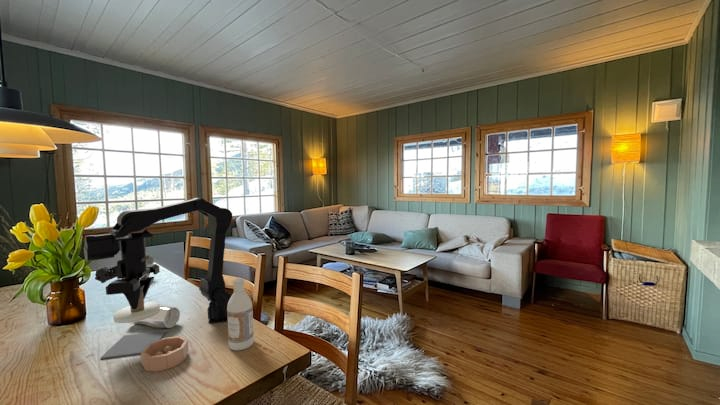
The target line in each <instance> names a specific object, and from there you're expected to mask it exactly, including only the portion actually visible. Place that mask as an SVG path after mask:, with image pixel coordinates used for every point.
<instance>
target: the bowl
mask: <svg viewBox="0 0 720 405" xmlns="http://www.w3.org/2000/svg"><path fill="white" fill-rule="evenodd" d="M188 353H189V339H187V338H186V337H183V336H181V335H178V336H169V337H162V338H161V339H160V340H158V341H156V342H153V343H151V344H149V345H147V347H146V348H145V349H144V350H143V351H142V352H141V354H140V359H141V360H140V361H141V366H142V367H143V369H144V370H145V371H146V372H147V373H149V372H150V373H158V372H164V371H168V370H170V369H172V368H174V367H177V366H178V365H180V364H181V363H183V362H184V361H185V360H186V359H187V357H188Z"/></svg>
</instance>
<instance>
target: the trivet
mask: <svg viewBox="0 0 720 405" xmlns="http://www.w3.org/2000/svg"><path fill="white" fill-rule="evenodd" d="M166 334H167V330H161V331H151V332H142V333H134V334H127V335H126V334H124V335H123V336H121V338H120V339H119V340H117V341H116V342H115V343H114V344H113V345H112V346H111V347H110V348H109V349H108V350H107V351H106V352H105V353H104V354H103V355H102V356H100V360H106V359H113V358H114V359H115V358H121V357H122V358H123V357H129V356H137V355H139V356H140V355H141V352H142V351H143V350H144V349H145V348H146V347H147V345H149V344H151V343H153V342H156V341H158V340H160V339H163V338H164V336H165V335H166Z"/></svg>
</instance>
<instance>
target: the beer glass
mask: <svg viewBox="0 0 720 405" xmlns="http://www.w3.org/2000/svg"><path fill="white" fill-rule="evenodd" d="M180 317H181V311H180V309H179V308H178V307H177V306H176V307H175V306H171V305H170V306H169V305H160V311H159V312H158V313H157V314H155V315H154V316H152V317H149V318H147V319H144V320H140V321H136V322H130V323H129V324H131V325H138V324H141V325H145V326H149V327H151V328H156V329H171V328H174V327H175V326H177V324H178V322H179V320H180Z"/></svg>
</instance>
